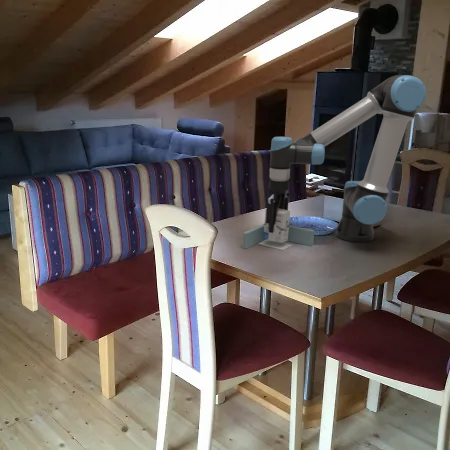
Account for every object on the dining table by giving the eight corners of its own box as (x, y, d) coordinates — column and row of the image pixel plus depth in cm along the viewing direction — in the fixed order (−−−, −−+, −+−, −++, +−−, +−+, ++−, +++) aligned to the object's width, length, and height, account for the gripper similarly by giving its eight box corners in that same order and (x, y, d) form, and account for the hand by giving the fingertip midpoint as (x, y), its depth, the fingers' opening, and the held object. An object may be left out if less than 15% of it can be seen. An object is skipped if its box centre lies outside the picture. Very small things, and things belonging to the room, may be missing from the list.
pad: (292, 245, 195) (292, 244, 195) (283, 250, 190) (283, 249, 190) (268, 239, 201) (268, 239, 201) (258, 244, 196) (258, 243, 196)
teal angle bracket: (313, 245, 196) (314, 230, 194) (288, 259, 180) (289, 243, 179) (269, 235, 207) (270, 221, 205) (242, 247, 191) (243, 232, 189)
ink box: (262, 238, 195) (264, 208, 192) (270, 235, 199) (271, 206, 196) (281, 243, 190) (283, 213, 187) (288, 240, 194) (290, 210, 191)
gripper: (282, 174, 197) (278, 230, 204) (257, 181, 183) (254, 242, 190) (299, 176, 193) (295, 234, 200) (275, 184, 179) (272, 246, 186)
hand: (275, 238), depth 195 cm, fingers closed on ink box, 5 cm apart
